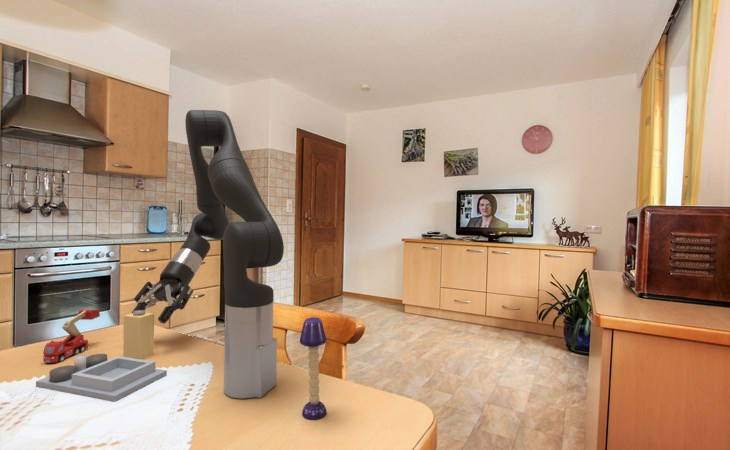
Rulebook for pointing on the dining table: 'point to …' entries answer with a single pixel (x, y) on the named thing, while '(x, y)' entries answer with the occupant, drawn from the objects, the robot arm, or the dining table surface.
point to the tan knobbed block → (138, 335)
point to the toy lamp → (313, 365)
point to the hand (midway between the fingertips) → (147, 320)
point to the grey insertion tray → (102, 376)
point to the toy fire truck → (69, 339)
